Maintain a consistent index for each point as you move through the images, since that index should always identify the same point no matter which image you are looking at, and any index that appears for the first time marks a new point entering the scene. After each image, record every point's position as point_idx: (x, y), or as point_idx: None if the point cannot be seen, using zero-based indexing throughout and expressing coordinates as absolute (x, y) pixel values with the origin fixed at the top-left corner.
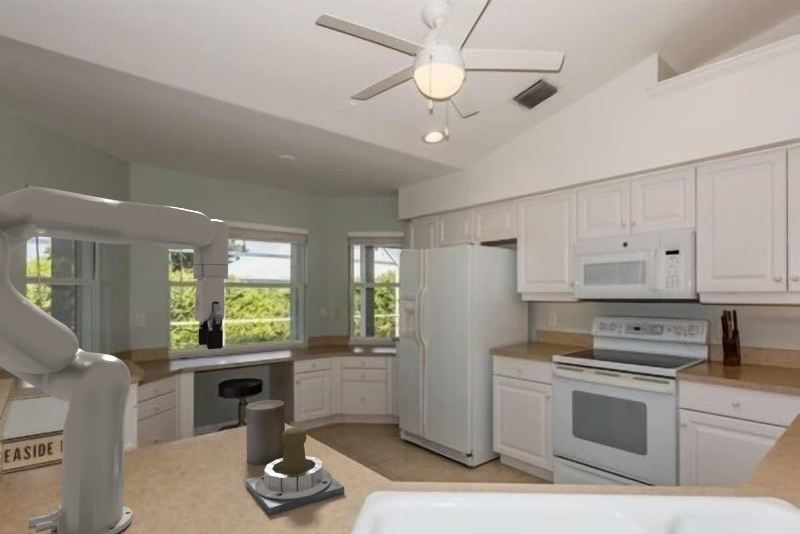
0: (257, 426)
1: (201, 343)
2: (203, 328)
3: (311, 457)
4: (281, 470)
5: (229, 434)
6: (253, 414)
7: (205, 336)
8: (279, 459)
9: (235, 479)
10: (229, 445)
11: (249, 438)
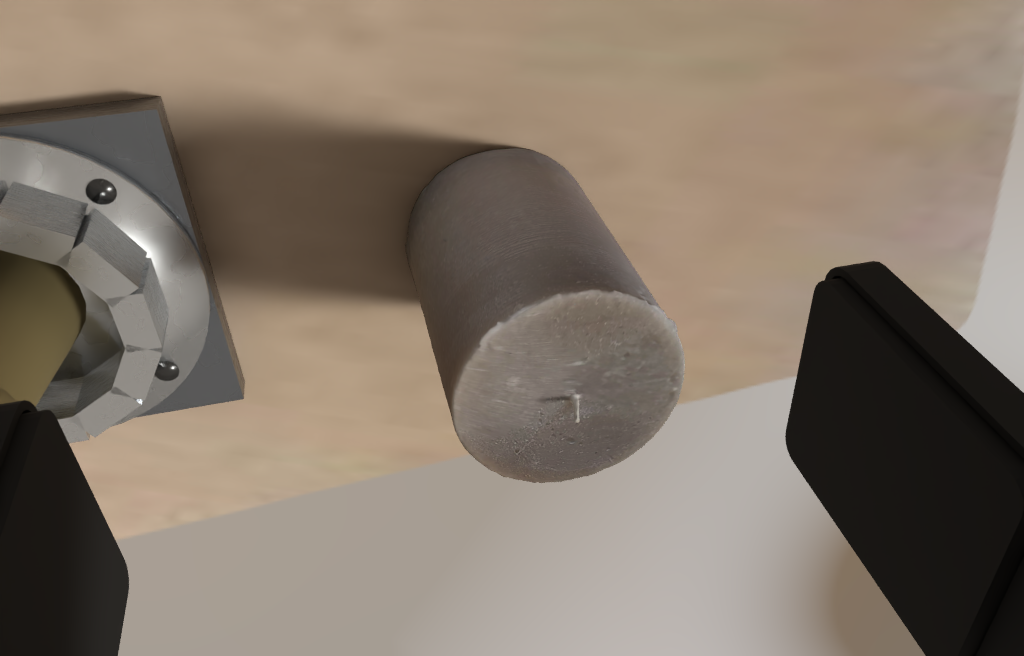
0: (459, 284)
1: (826, 310)
2: (1021, 558)
3: (104, 421)
4: (8, 283)
5: (949, 116)
6: (492, 305)
7: (878, 453)
8: (133, 298)
9: (279, 61)
10: (785, 95)
11: (494, 210)
